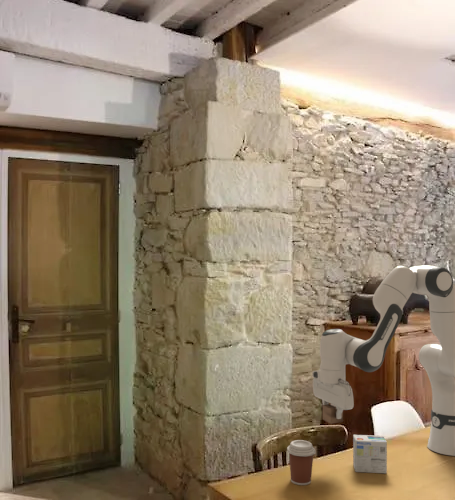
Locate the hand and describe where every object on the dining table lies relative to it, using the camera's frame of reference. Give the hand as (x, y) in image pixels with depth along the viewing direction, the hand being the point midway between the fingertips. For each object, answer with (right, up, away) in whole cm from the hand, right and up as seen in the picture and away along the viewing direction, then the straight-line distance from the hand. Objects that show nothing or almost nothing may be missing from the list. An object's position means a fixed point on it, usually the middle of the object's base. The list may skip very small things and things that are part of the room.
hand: (332, 415), depth 184 cm
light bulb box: (+12, -17, -4) cm, 21 cm away
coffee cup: (-13, -17, -14) cm, 26 cm away
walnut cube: (0, -2, 0) cm, 2 cm away
